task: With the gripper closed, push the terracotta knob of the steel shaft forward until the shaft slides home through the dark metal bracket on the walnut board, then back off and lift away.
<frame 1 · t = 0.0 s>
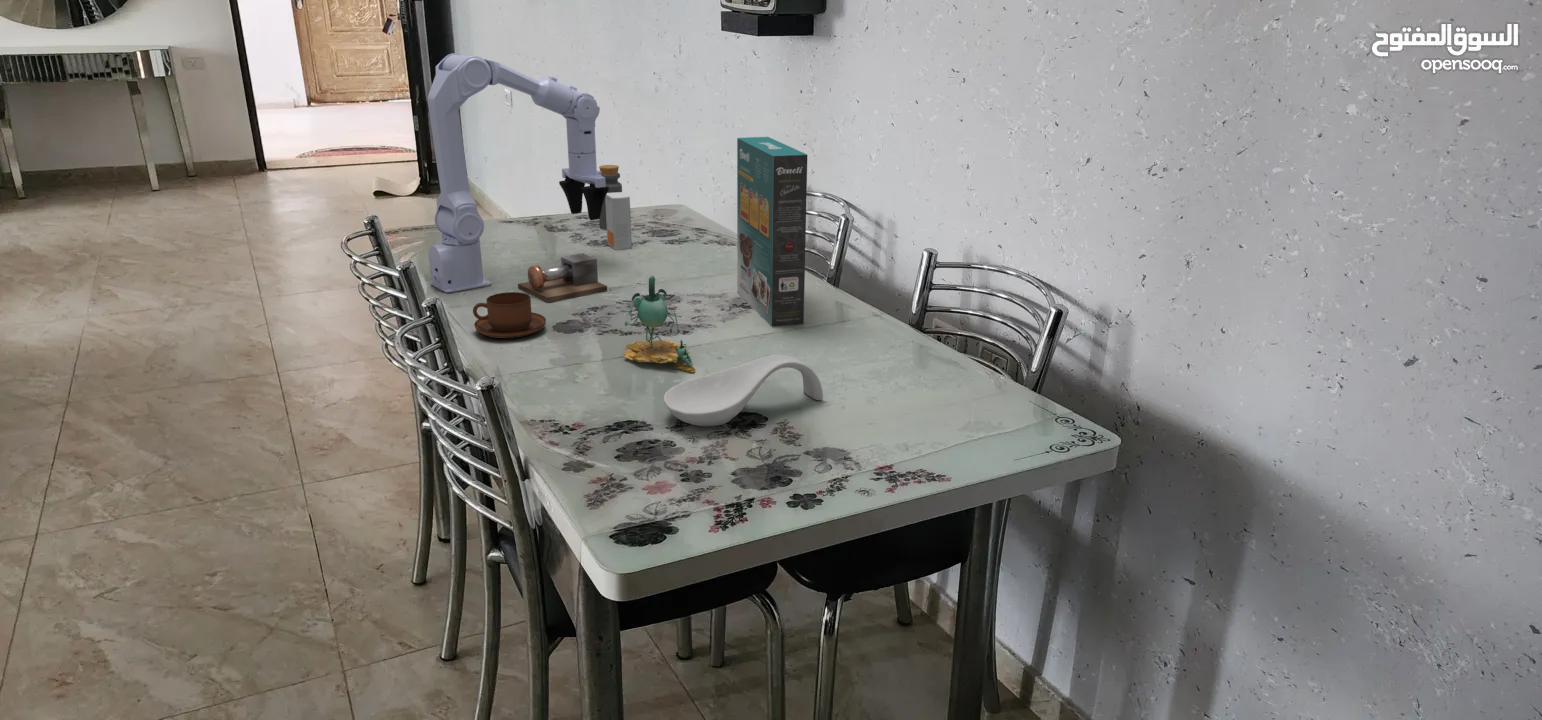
hand: (585, 216, 215), 10 cm above the table, fingers open, 7 cm apart
cake mix box: (768, 308, 190), on the table
spoon rest: (744, 412, 144), on the table
cup and saucer: (511, 333, 175), on the table
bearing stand: (569, 288, 200), on the table
skincare box: (619, 247, 232), on the table
bottle: (611, 227, 251), on the table
shaft: (554, 273, 197), point 4 cm above the table, slide at 6.0 cm
teal creature figurine: (656, 360, 163), on the table
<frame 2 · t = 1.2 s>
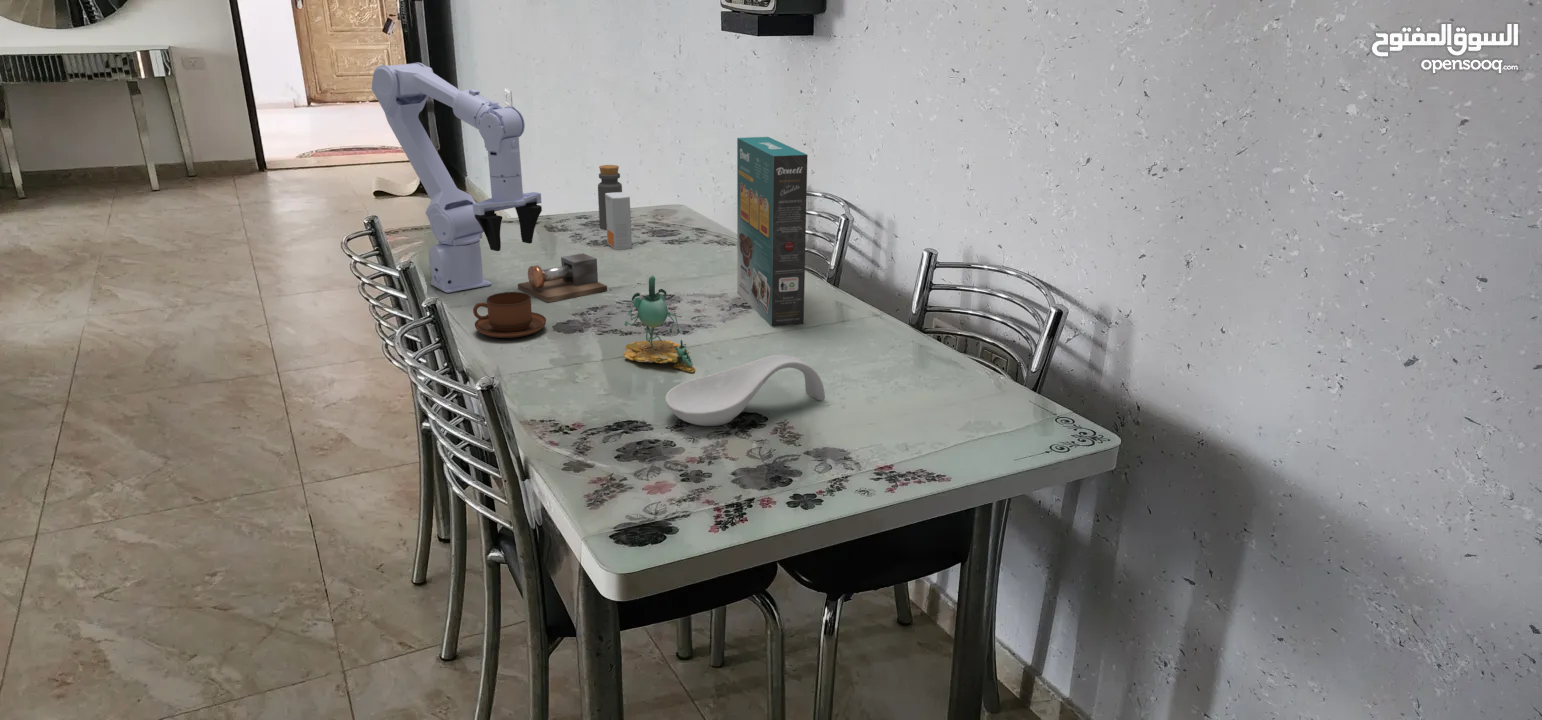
hand: (511, 246, 192), 10 cm above the table, fingers open, 7 cm apart
nothing on the table moved.
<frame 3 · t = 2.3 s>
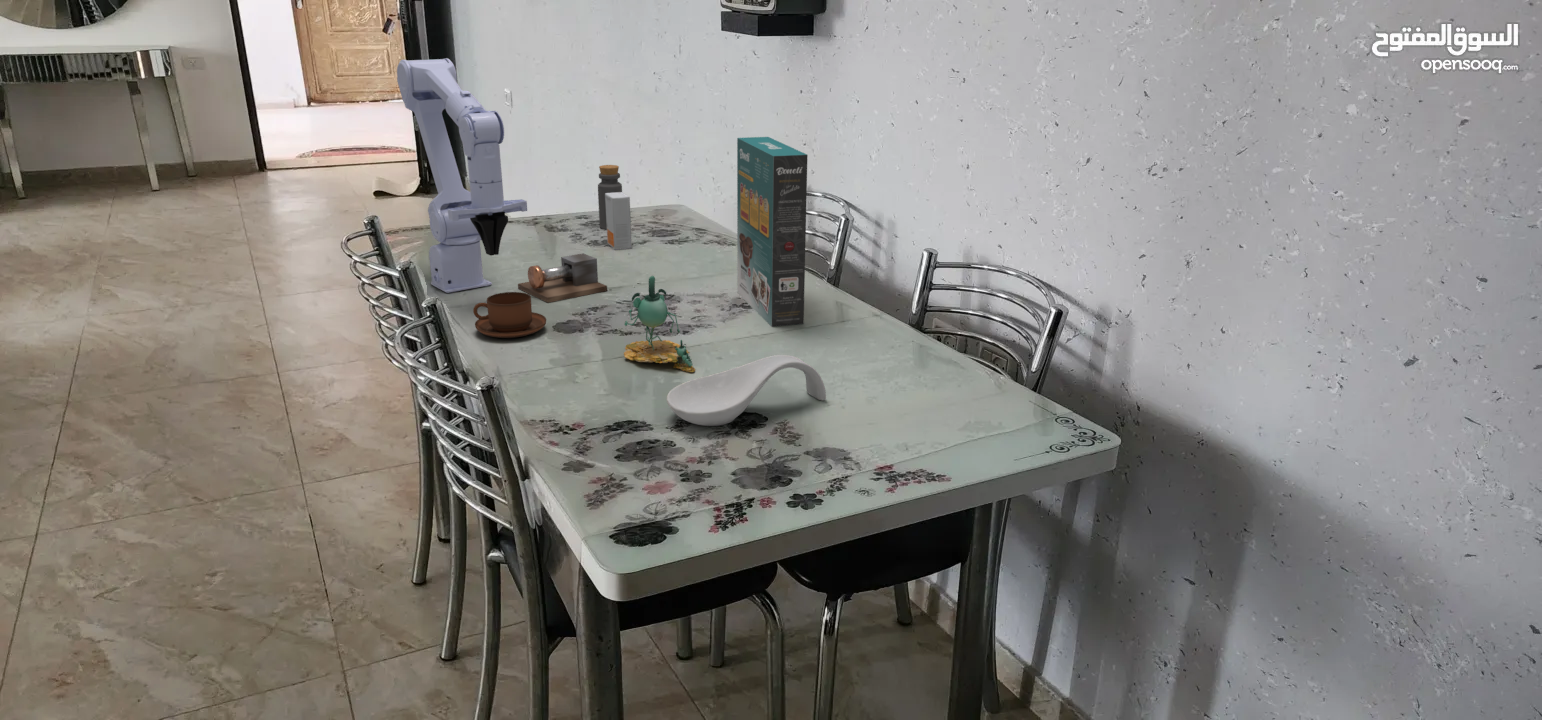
hand: (492, 254, 187), 9 cm above the table, fingers closed
nothing on the table moved.
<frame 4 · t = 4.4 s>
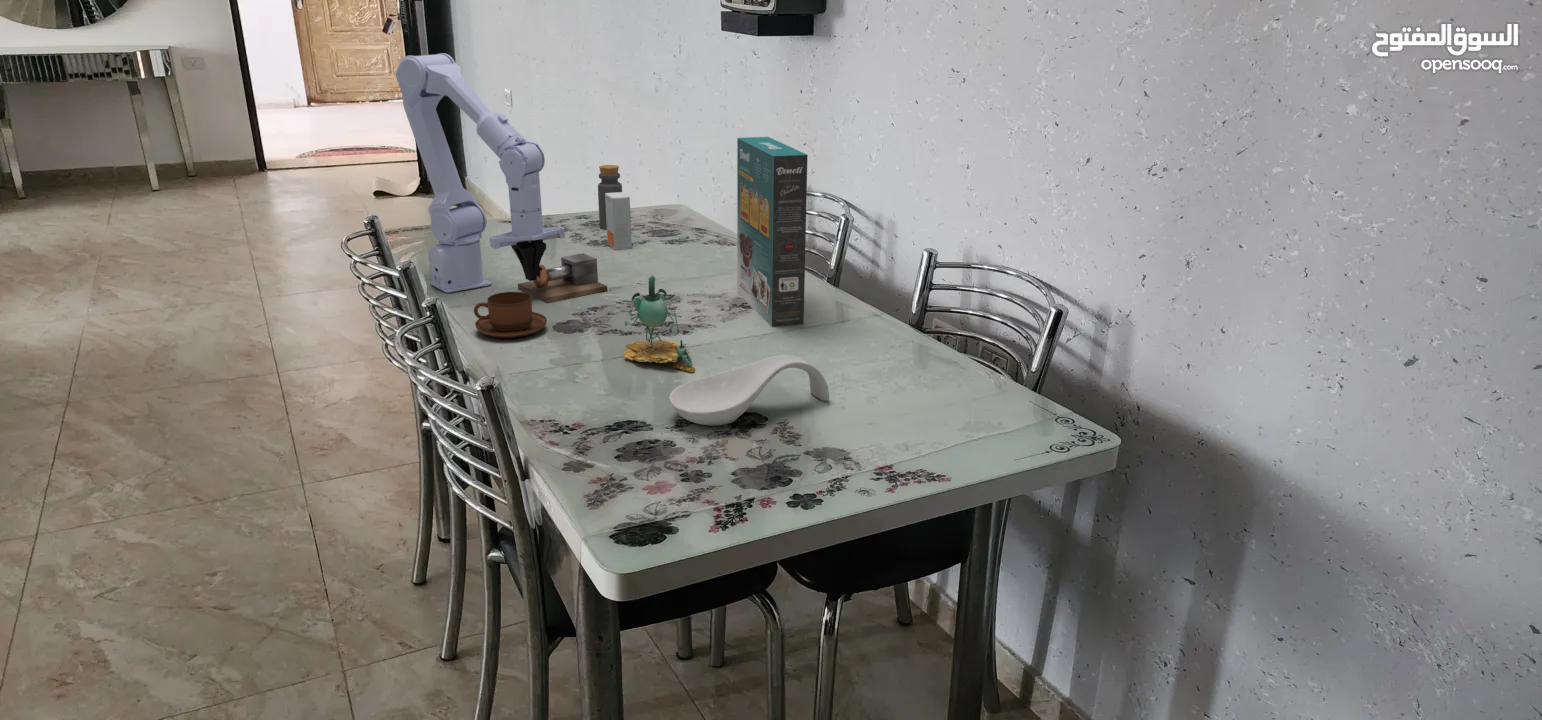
hand: (531, 279, 194), 3 cm above the table, fingers closed
shaft: (558, 273, 198), point 3 cm above the table, slide at 5.1 cm, touching gripper
everything else where it was.
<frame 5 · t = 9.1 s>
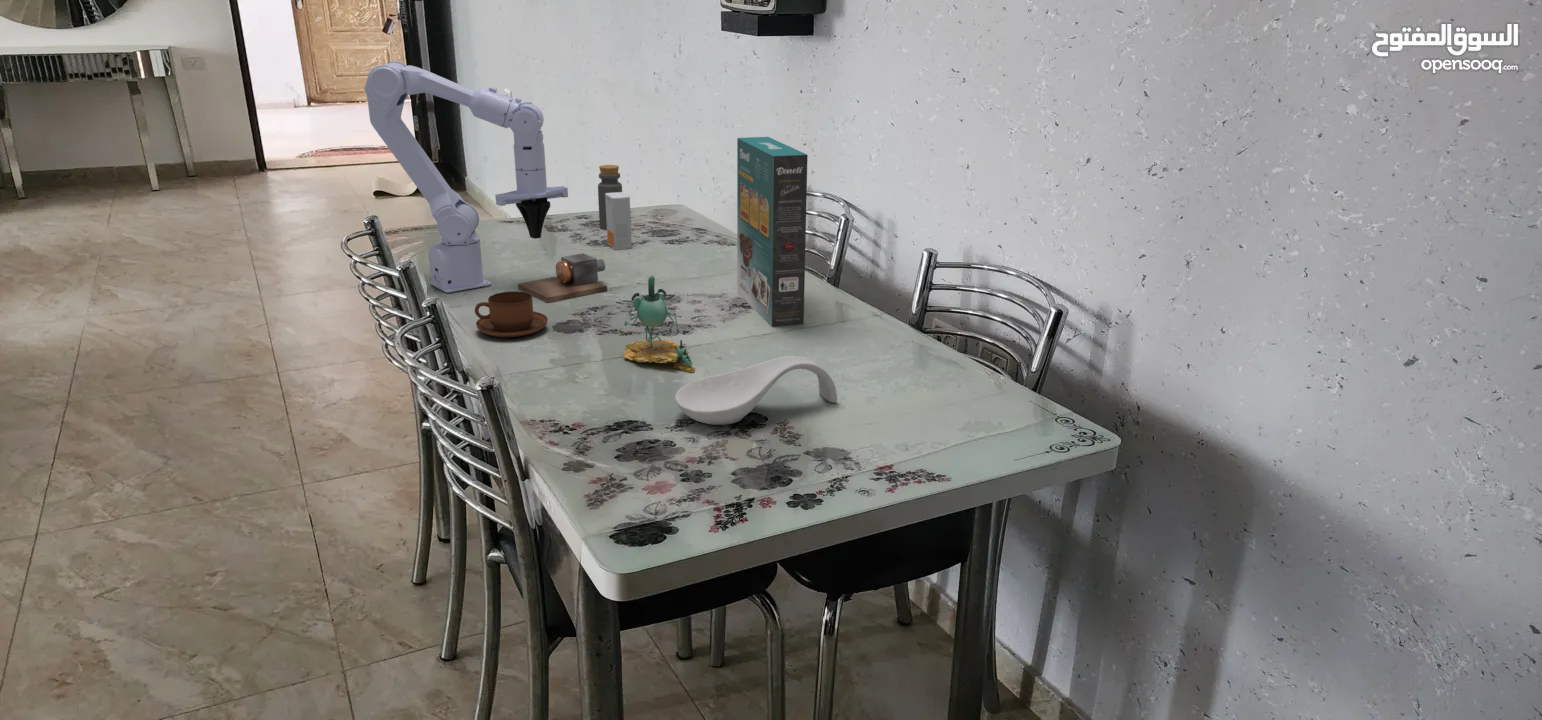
hand: (535, 237, 200), 9 cm above the table, fingers closed
shaft: (581, 268, 201), point 4 cm above the table, slide at 0.0 cm
at the end: shaft slide at 0.0 cm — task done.
